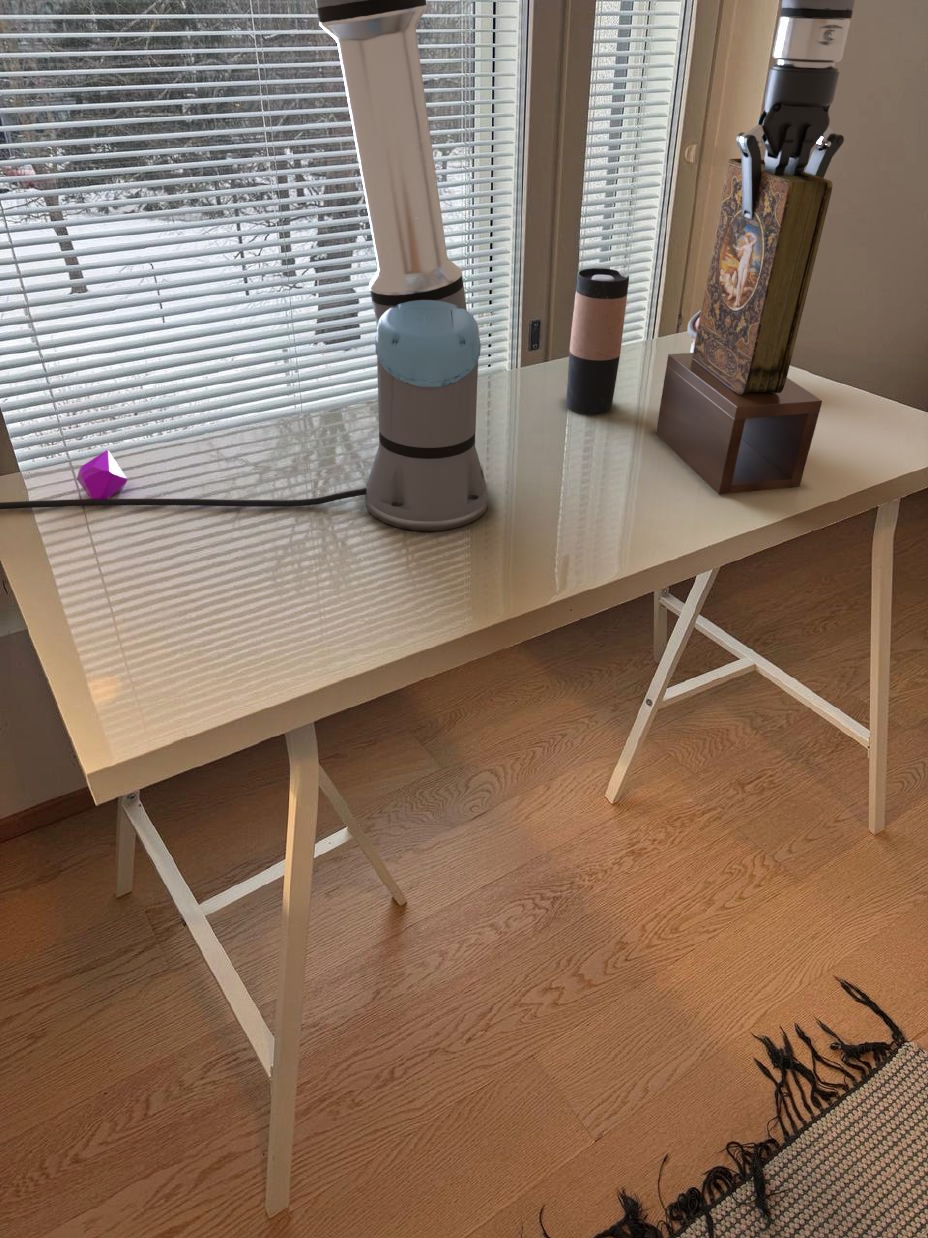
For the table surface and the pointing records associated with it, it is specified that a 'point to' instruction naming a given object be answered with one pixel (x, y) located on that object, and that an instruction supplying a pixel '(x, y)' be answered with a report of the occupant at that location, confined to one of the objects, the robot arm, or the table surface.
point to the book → (760, 279)
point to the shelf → (736, 429)
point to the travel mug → (596, 340)
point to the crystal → (101, 477)
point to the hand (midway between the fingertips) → (761, 281)
